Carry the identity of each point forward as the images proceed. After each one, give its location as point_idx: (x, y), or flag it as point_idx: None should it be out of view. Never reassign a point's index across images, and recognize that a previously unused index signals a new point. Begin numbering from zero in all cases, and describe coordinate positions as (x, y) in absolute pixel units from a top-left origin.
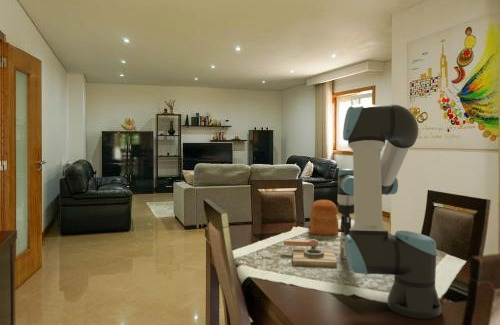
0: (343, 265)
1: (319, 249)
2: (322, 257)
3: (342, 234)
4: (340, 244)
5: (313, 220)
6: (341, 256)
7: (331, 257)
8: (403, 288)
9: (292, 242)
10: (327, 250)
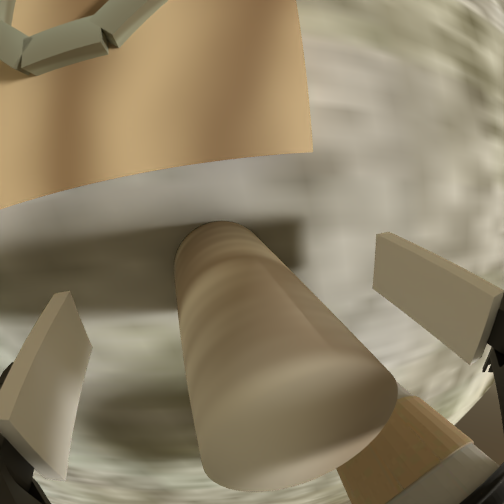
0: (2, 268)
1: (295, 13)
2: (4, 74)
3: (377, 383)
4: (244, 272)
5: None
6: (188, 239)
7: (18, 159)
8: None
9: None
10: (280, 88)
